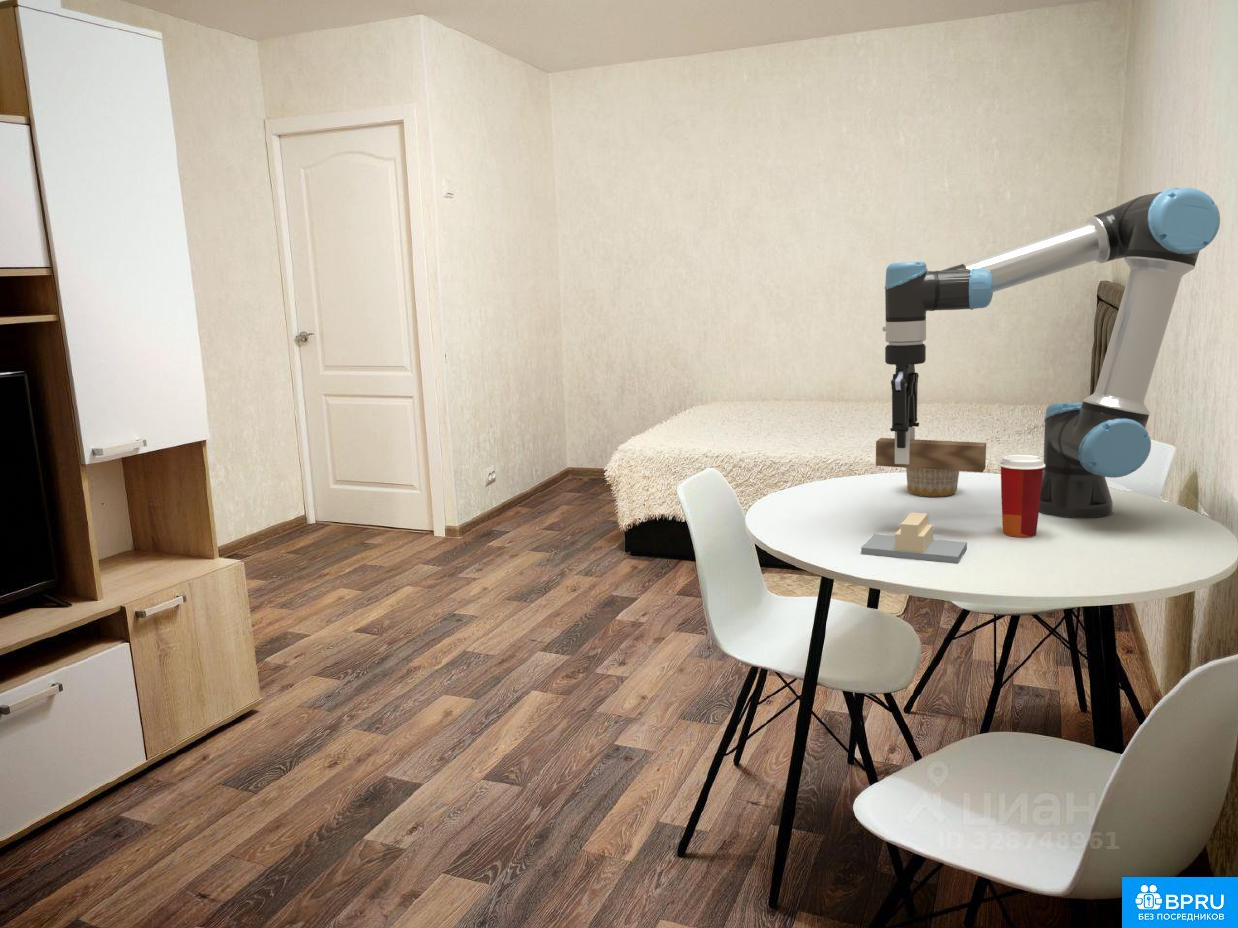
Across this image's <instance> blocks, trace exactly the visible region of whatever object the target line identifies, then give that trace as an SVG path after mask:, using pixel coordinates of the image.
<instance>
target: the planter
mask: <svg viewBox="0 0 1238 928" xmlns="http://www.w3.org/2000/svg"><path fill="white" fill-rule="evenodd" d="M905 470H906V471H905V473H906V483H907V490H908V492H909V493H911V494H912V495H914V496H919V497H926V498H942V497H944V498H945V497H949V496H952V495H954V494H956V492H957V491H958V486H959V485H958V483H959V477H960V476H959V475H960V471H952V470H936V469H920V468H905Z"/></svg>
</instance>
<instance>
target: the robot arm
mask: <svg viewBox="0 0 1238 928" xmlns="http://www.w3.org/2000/svg"><path fill="white" fill-rule="evenodd" d="M1220 224H1221V214H1220V211H1219V207H1218V205H1217V204H1216V202H1215V201H1214V199H1213V198H1212V197H1211V196H1210V195H1209V194H1208V193H1206V192H1204V191H1202V190H1200V189H1197V188H1192V187H1191V188H1190V187H1181V188H1179V187H1173V188H1168V189H1165V190H1164V191H1160V192H1155V193H1149V194H1145V195H1141V196H1137V197H1135V198H1134V199H1131V200H1128V201H1126V202H1124V203H1122V204H1120V205H1118V206H1115V207H1113V208H1111V209H1108V210H1105V211H1103V212H1100V213H1098V214H1095V215H1092V216H1089V217H1087V219H1086V220H1085V222H1084V223H1083V224H1080V225H1076V226H1074V227H1071V228H1068V229H1065V230H1062V231H1059V232H1056V233H1052V234H1050V235H1046V236H1043V237H1040V238H1038V239H1033V240H1031V241H1027V242H1025V243H1022V244H1019V245H1016V246H1012V247H1009V248H1006V249H1003V250H1000V251H998V252H994V253H990V254H987V255H985V256H982V257H979V258H975V259H973V260H969V261H966V262H964V263H960V264H957V265H954V266H950V267H948V268H944V269H942V270H934V271H933V270H932V271H931V270H928V268H927V263H926V262H925V261H908V262H907V261H906V262H905V261H904V262H903V261H902V262H893V263H890V264H889V265H887V267H886V270H885V285H884V294H885V295H884V296H885V297H884V298H885V299H884V301H885V310H884V311H885V326H882V332H885V342H886V343H888V344H886V346H885V347H884V348H885V349H884V350H885V351H884V361H885V363H886V364H887V365H889V366H891V365H893V366H894V365H895V373H893V374H892V379H891V380H890V384H891V405H892V406H891V422H892V423H891V427H890V429H889V430H890V432H894V438H895V464H910V439H915V438H916V436H915V435H916V427H917V428H918V427H920V422H918V390H919V389H918V386H919V385H918V384H919V377H920V375H919V373H918V372H916V368H915V365H920V364H924V363H926V361H927V360H926V358H927V357H926V353H927V352H926V349H927V348H926V347H927V346H926V344H925V343H924V342H925V341H926V340H927V312H934V311H956V310H958V311H960V310H970V311H972V310H977V309H984V308H987V307H988V306H989V305H990V304H991V302H992V300H993V296H994V293H995V292H998V291H1001V290H1004V289H1008V288H1011V287H1014V286H1018V285H1021V284H1025V283H1028V282H1031V281H1034V280H1036V279H1039V278H1044V277H1046V276H1049V275H1053V274H1056V273H1060V272H1061V271H1065V270H1068V269H1072V268H1075V267H1078V266H1081V265H1084V264H1087V263H1090V262H1094V261H1095V262H1097V263H1099V264H1104V263H1108V262H1111V261H1115V260H1120V259H1123V258H1124V261H1125V263H1126V265H1127V266H1128V267H1129V273H1128V276H1127V280H1126V284H1125V287H1124V291H1123V294H1122V298H1121V301H1120V303H1119V304H1120V305H1119V308H1118V312H1117V313H1116V314H1117V315H1116V318H1115V322H1114V325H1113V328H1112V330H1111V331H1112V332H1111V335H1110V339H1109V342H1108V346H1107V350H1106V352H1105V355H1104V359H1103V363H1102V366H1101V369H1100V373H1099V376H1098V379H1097V384H1096V386H1095V390H1094V392H1093V393H1092V394H1091V395H1089V396H1087V397H1085V398H1084V399H1083V401H1082V402H1060V403H1059V402H1056V403H1051V404H1049V405H1048V406H1047V407H1046V409H1045V416H1044V419H1043V421H1044V434H1043V435H1044V437H1043V438H1044V439H1043V441H1044V442H1043V462H1044V464H1045V467H1044V468H1043V477H1042V486H1041V496H1040V505H1039V513H1042V514H1046V515H1050V516H1057V517H1064V518H1077V519H1082V518H1083V519H1084V518H1086V519H1087V518H1100V517H1105V516H1109V515H1111V514H1112V513H1113V505H1114V504H1113V498H1112V495H1111V493H1110V489H1109V485H1108V483H1107V482H1108V481H1107V480H1106V479H1107V478H1113V479H1115V478H1123V477H1125V476H1128V475H1131V474H1132V473H1134V472H1136V471H1137V470H1139V469H1140V468H1141V467H1142V466H1143V464H1145V462H1146V461H1147V459H1148V458H1149V456H1150V453H1151V450H1152V439H1151V436H1150V434H1149V432H1148V431H1147V429H1146V428H1147V423H1148V420H1149V417H1150V414H1151V413H1150V411H1149V409H1148V407H1146V405H1145V399H1146V396H1147V393H1148V390H1149V385H1150V384H1151V380H1152V376H1153V373H1154V369H1155V366H1156V363H1157V360H1158V357H1159V353H1160V350H1161V347H1162V344H1163V340H1164V336H1165V334H1166V330H1167V326H1168V323H1169V321H1170V318H1171V317H1170V316H1171V314H1172V310H1173V307H1174V304H1175V301H1176V297H1177V293H1178V290H1179V287H1180V284H1181V281H1182V278H1183V276H1185V275H1186V274H1188V273H1190V272H1191V271H1193V270H1194V269H1195V266H1196V263H1197V260H1198V258H1199V254H1200V251H1201V250H1204V249H1205V248H1206V247H1207V246H1208V245H1210V244H1211V243H1212V242H1214V241H1213V240H1214V239H1215V237H1216V236H1217V234H1218V231H1219V229H1220Z"/></svg>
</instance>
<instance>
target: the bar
mask: <svg viewBox="0 0 1238 928" xmlns="http://www.w3.org/2000/svg"><path fill="white" fill-rule="evenodd" d="M986 458H987V443H986V442H979V441H978V442H977V441H975V442H974V441H955V440H954V441H951V440H938V439H937V440H935V439H917V438H916V439H910V464H895V437H894V438H890V437H889V438H888V437H880V438H878V439H877V440H875V466H876V467H889V468H892V467H893V468H905V469H906V468H920V469H936V470H952V471H959V472H971V473H972V472H973V473H983V472H984V471H985V470H986V460H987V459H986Z"/></svg>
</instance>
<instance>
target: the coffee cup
mask: <svg viewBox="0 0 1238 928" xmlns="http://www.w3.org/2000/svg"><path fill="white" fill-rule="evenodd" d="M999 461H1000V462H999V463H998V464H997V466H999V467H1000V482H1001V483H1000V492H1001V493H1000V494H1001V523H1002V524H1001V525H1002V533H1003V534H1004V535H1006V536H1009V537H1013V538H1032V537H1035V536H1036V535H1037V529H1038V523H1039V513H1040V512H1039V505H1040V496H1041V486H1042V477H1043V468H1044V467H1045V464H1044V459H1042V457H1041V456H1037V455H1029V454H1008V455H1003V456H1002V458H1001V459H1000V460H999Z"/></svg>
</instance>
